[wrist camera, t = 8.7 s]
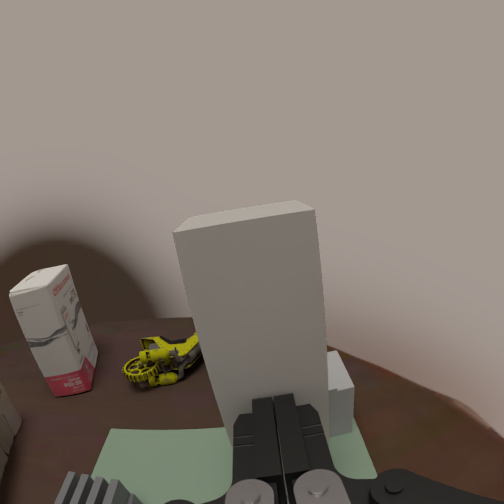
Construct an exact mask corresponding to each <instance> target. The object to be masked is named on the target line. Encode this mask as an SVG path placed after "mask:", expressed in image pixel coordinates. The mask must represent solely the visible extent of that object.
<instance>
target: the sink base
mask: <svg viewBox="0 0 504 504" xmlns="http://www.w3.org/2000/svg"><path fill="white" fill-rule="evenodd" d="M327 364H328V394H329V450H330V454H331V457H332V461H333V464H334V467H335V468H336V470H337V471H338V472H339V473H340V474H342V475H344V476H346V477H348V478H353V479H375V478H376V477H377V473H376V471H375V468H374V466H373V463H372V461H371V458H370V456H369V453H368V451H367V449H366V446H365V444H364V441H363V439H362V436H361V434H360V431H359V429H358V427H357V424H356V422H355V419H354V417H353V406H354V385H353V383H352V381H351V379H350V377H349V375H348V373H347V371H346V369H345V366H344V364H343V362H342V360H341V358H340V356H339V354H338V352H337V351H332V352H327ZM232 467H233V449H232V446H231V443H230V441H229V438H228V435H227V432H226V429H225V427H222V428H208V429H189V430H128V429H111V430H110V432H109V435H108V437H107V439H106V442H105V444H104V446H103V449H102V451H101V453H100V456H99V458H98V461H97V463H96V465H95V468H94V470H93V473H92V475H91V477H90V476H89V475H86V474H82V475H81V477H79V476H78V475H77V474H76V473H75V472H71V471H69V472H68V474H67V476H66V479H65V481H64V483H63V485H62V487H61V490H60V492H59V494H58V496H57V499H56V501H55V503H54V504H165V503H166V502H168V501H171V500H177V499H182V500H188V501H190V502H192V503H194V504H202V503H205V502H209V501H212V500H215V499H218V498H220V497H221V496H223V495H224V494H225V493H226V492H227V491H228V490H229V488H230V486H231V484H232ZM287 504H289V499H288V496H287Z"/></svg>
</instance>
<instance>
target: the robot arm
mask: <svg viewBox="0 0 504 504" xmlns="http://www.w3.org/2000/svg"><path fill="white" fill-rule="evenodd" d="M273 398H274V405H275V412H276V418H275V412H274V407H273V401H272V396H271V397H265V398H257V399H252V413H247V414H239V416H238V418H237V419H236V421H235V423H234V425H233V467H232V484H231V486H230V488H229V490H228V491H227V492H226V493H225V494H224V495H223V496H221V497H220V498H218V499H215V500H212V501H209V502H205V503H202V504H287V496H286V489H285V483H286V488H287V493H288V499H289V504H504V502H502V501H498V500H494V499H490V498H487V497H483V496H479V495H476V494H473V493H469V492H466V491H463V490H460V489H456V488H453V487H450V486H447V485H445V484H442V483H439V482H436V481H433V480H431V479H428V478H425V477H423V476H420V475H417V474H415V473H412V472H410V471H407V470H404V469H390V470H387V471H384V472H382V473H381V474H379V475H378V476H377V477H376V478H375V479H353V478H348V477H346V476H344V475H342V474H340V473H339V472H338V471H337V470H336V468H335V467H334V464H333V461H332V457H331V454H330V450H329V447H328V443H327V440H326V437H325V434H324V430H323V426H322V424H321V420H320V416H319V413H318V411H317V410H316V409H315V408H314V407H313V406H312V405H311V404H305V405H300V406H296V404H295V399H294V395H293V393H289V394H283V395H277V396H273ZM276 420H277V424H276ZM277 427H278V430H277ZM278 434H279V437H278ZM279 442H280V444H279ZM280 449H281V452H280ZM281 456H282V459H281ZM282 464H283V466H282ZM283 471H284V474H283ZM284 477H285V481H284ZM165 504H194V503H192V502H190V501H188V500H182V499H177V500H171V501H168V502H166V503H165Z"/></svg>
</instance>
